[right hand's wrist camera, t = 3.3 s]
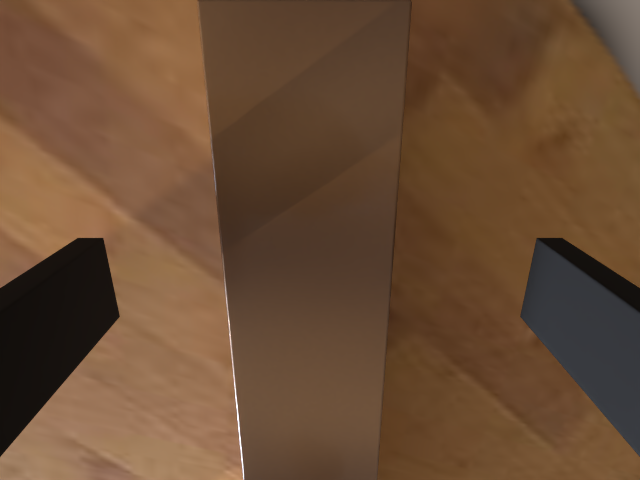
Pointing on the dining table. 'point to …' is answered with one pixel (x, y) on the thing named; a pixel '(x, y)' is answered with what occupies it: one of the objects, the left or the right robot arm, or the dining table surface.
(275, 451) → the post
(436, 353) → the dining table surface
